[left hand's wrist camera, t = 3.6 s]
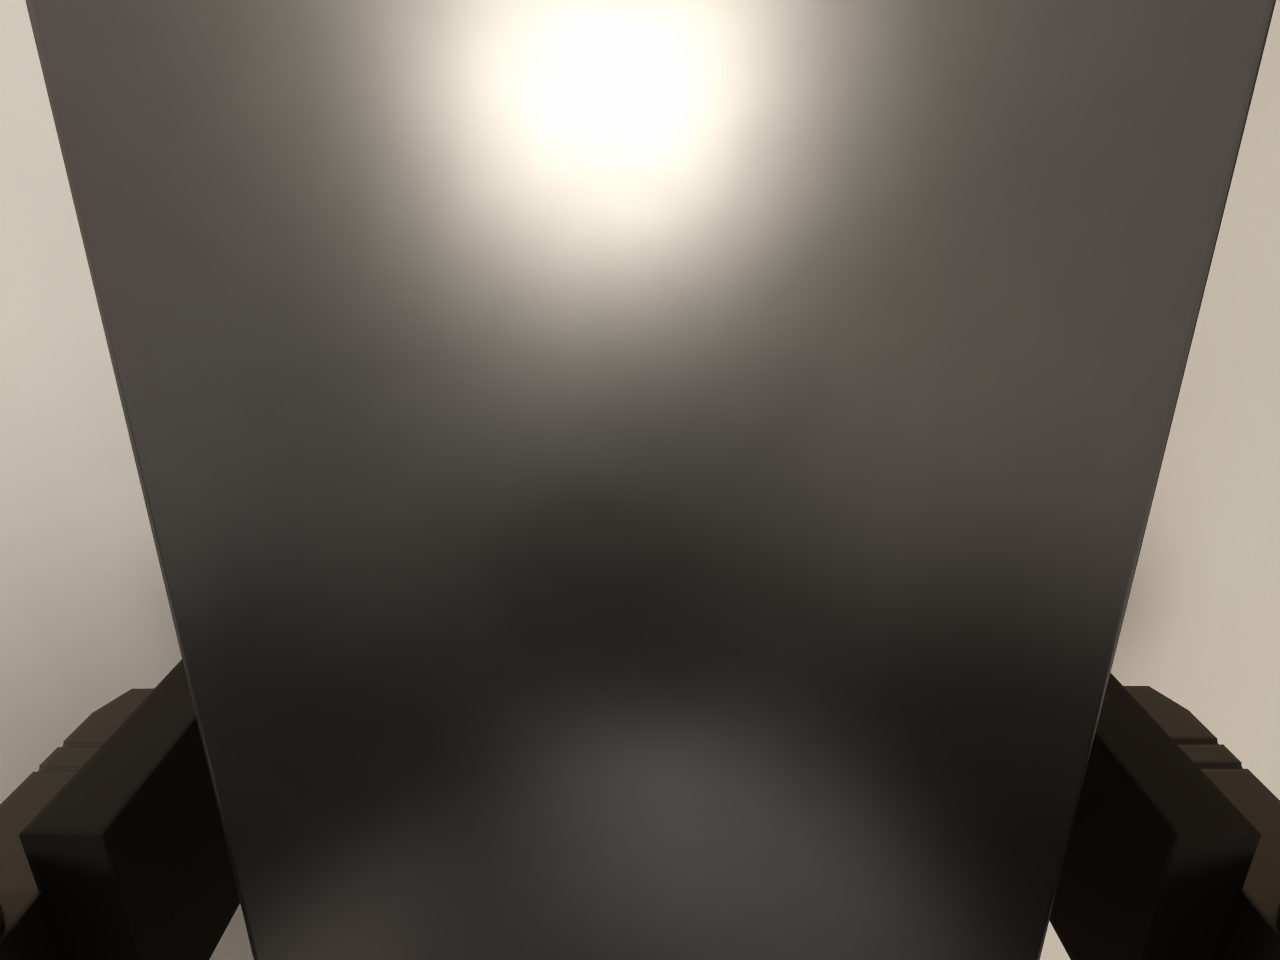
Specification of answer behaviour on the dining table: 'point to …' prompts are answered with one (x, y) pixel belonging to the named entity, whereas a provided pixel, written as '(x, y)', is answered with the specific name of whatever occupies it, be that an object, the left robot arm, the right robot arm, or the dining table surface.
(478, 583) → the box
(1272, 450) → the dining table surface
